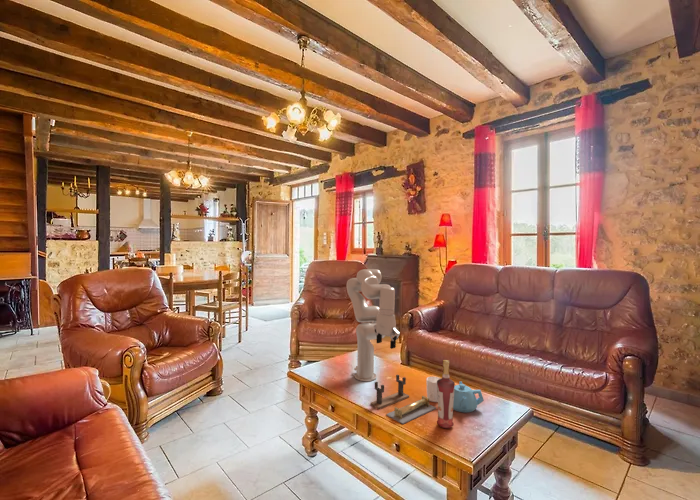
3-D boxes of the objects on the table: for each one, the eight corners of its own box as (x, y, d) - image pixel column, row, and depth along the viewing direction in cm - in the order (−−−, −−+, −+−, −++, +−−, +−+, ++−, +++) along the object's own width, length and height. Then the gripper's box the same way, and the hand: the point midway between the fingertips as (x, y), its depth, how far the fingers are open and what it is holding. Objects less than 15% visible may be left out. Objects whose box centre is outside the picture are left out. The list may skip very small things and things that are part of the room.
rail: (400, 419, 152) (400, 410, 152) (394, 415, 155) (394, 407, 155) (429, 406, 165) (429, 398, 164) (422, 403, 167) (422, 395, 167)
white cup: (442, 403, 169) (443, 383, 169) (426, 401, 171) (426, 381, 170) (441, 396, 177) (442, 377, 176) (425, 395, 178) (426, 375, 178)
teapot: (463, 418, 155) (464, 394, 155) (438, 404, 168) (439, 382, 168) (485, 409, 163) (486, 387, 163) (460, 397, 176) (460, 376, 176)
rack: (370, 404, 167) (370, 383, 167) (400, 393, 180) (400, 373, 180) (378, 409, 162) (379, 387, 162) (409, 397, 175) (409, 376, 175)
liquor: (455, 431, 144) (456, 364, 143) (437, 429, 145) (437, 363, 145) (453, 422, 151) (453, 358, 151) (435, 420, 152) (436, 357, 152)
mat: (386, 415, 157) (386, 413, 157) (419, 401, 171) (419, 399, 171) (402, 424, 149) (402, 423, 149) (436, 408, 163) (436, 407, 163)
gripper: (369, 309, 177) (368, 342, 178) (394, 316, 163) (393, 351, 164) (380, 307, 182) (379, 339, 183) (404, 314, 168) (403, 348, 169)
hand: (385, 345), depth 174 cm, fingers open, 9 cm apart
